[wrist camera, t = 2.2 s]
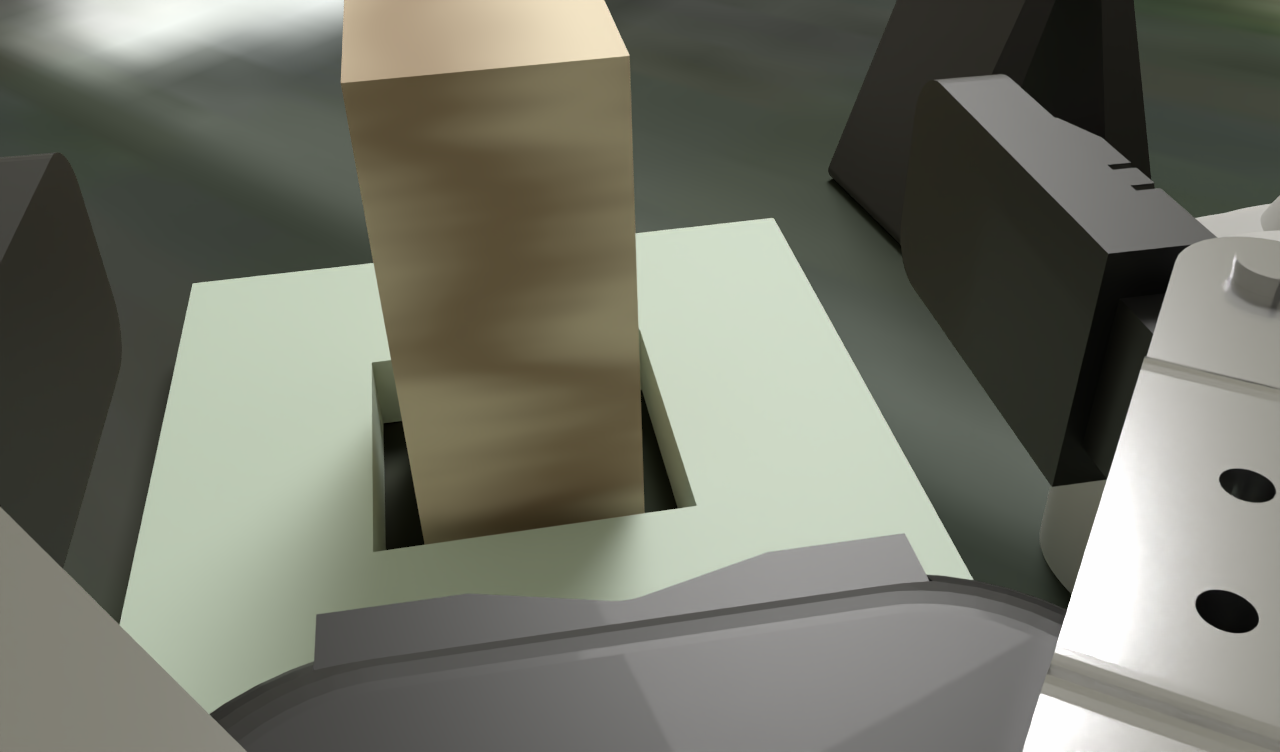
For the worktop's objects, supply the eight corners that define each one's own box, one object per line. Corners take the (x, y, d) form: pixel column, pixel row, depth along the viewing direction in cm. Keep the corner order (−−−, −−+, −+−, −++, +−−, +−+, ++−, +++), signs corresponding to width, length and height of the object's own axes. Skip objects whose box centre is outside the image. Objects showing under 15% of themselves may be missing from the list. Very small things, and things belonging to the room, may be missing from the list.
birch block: (611, 417, 33) (588, -34, 26) (645, 547, 29) (629, 55, 22) (422, 443, 32) (344, -14, 25) (431, 579, 28) (340, 83, 21)
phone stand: (1048, 138, 45) (1114, -216, 38) (1151, 211, 41) (1248, -174, 34) (827, 178, 43) (853, -187, 36) (908, 261, 39) (957, -140, 32)
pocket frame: (771, 274, 38) (773, 218, 37) (992, 709, 25) (1008, 643, 23) (209, 341, 36) (192, 283, 35) (115, 859, 22) (83, 793, 21)
